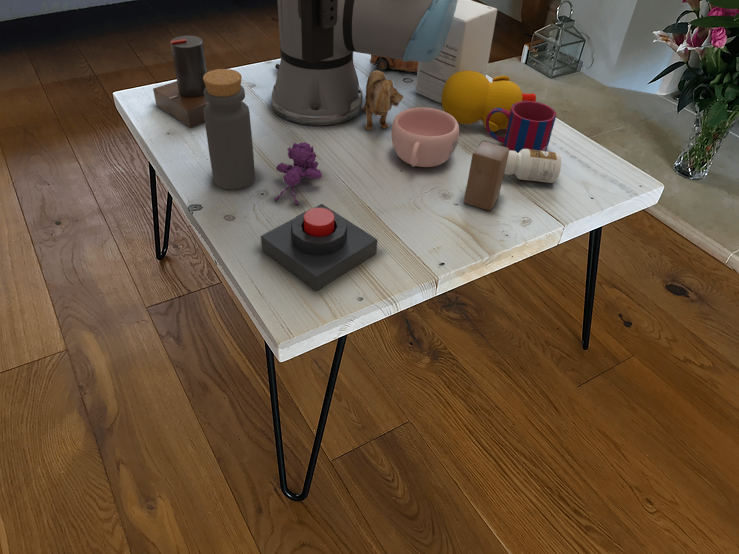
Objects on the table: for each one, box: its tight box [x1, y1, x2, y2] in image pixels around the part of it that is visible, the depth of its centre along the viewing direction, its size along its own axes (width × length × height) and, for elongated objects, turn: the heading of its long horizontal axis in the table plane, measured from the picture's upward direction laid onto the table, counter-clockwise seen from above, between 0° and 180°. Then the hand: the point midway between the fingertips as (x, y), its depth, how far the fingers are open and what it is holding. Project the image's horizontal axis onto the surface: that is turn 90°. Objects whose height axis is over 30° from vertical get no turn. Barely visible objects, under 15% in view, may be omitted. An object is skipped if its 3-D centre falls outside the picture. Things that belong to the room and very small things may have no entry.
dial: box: [169, 35, 208, 97], centre depth 95 cm, size 5×5×8 cm
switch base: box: [260, 203, 378, 292], centre depth 73 cm, size 10×10×4 cm
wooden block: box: [463, 140, 509, 211], centre depth 82 cm, size 4×4×8 cm
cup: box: [485, 101, 557, 153], centre depth 93 cm, size 7×10×7 cm
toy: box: [441, 70, 537, 133], centre depth 98 cm, size 9×9×15 cm
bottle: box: [203, 68, 256, 191], centre depth 80 cm, size 6×6×15 cm
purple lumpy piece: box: [274, 141, 323, 206], centre depth 83 cm, size 7×6×8 cm
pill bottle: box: [504, 149, 562, 184], centre depth 87 cm, size 4×4×8 cm
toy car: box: [369, 54, 418, 74], centre depth 114 cm, size 6×12×7 cm, turn 84°
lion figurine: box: [361, 69, 404, 131], centre depth 98 cm, size 15×5×9 cm, turn 11°
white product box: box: [414, 0, 498, 105], centre depth 103 cm, size 9×9×15 cm
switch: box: [304, 207, 334, 237], centre depth 71 cm, size 4×4×2 cm
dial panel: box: [152, 80, 209, 129], centre depth 99 cm, size 10×9×3 cm
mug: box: [390, 106, 460, 168], centre depth 89 cm, size 12×10×6 cm
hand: (317, 57), depth 58 cm, fingers closed
